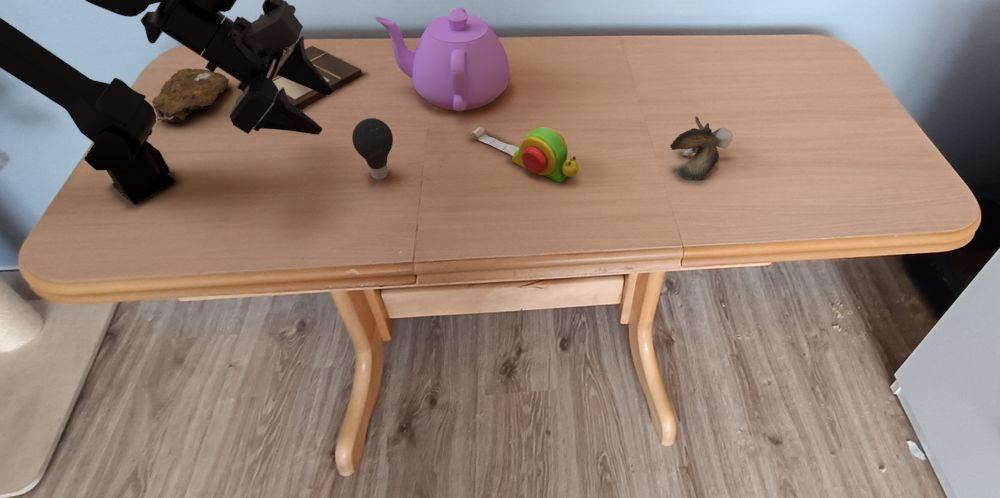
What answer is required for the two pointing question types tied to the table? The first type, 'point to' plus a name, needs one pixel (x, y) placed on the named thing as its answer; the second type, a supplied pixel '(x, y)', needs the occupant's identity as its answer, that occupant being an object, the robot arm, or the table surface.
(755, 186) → the table surface
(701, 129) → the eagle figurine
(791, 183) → the table surface
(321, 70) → the picture frame
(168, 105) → the decorative rock
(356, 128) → the light bulb
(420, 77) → the teapot
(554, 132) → the toy measuring tape
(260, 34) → the robot arm
